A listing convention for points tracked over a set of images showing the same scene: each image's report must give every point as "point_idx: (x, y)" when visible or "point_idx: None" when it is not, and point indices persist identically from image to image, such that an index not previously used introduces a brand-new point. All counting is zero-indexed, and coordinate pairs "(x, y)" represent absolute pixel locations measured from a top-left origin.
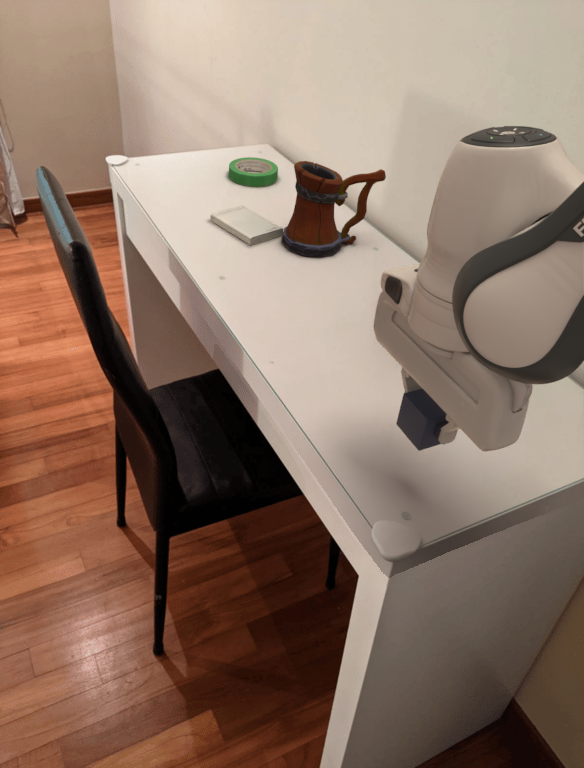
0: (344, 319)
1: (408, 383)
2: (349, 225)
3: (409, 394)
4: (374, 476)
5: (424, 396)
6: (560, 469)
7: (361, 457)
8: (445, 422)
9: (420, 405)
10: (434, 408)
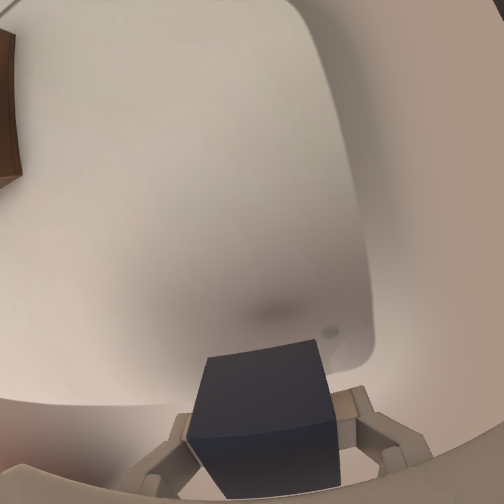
0: None
1: (183, 482)
2: None
3: (232, 494)
4: None
5: (246, 478)
6: (273, 15)
7: (203, 359)
8: (338, 433)
9: (283, 490)
10: (304, 473)
